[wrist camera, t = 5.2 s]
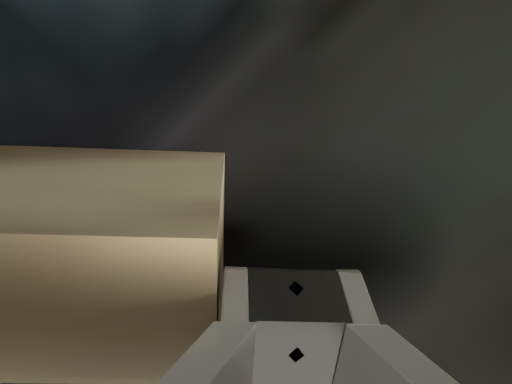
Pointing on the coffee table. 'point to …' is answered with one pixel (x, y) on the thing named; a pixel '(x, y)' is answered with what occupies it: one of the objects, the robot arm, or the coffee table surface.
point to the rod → (106, 261)
